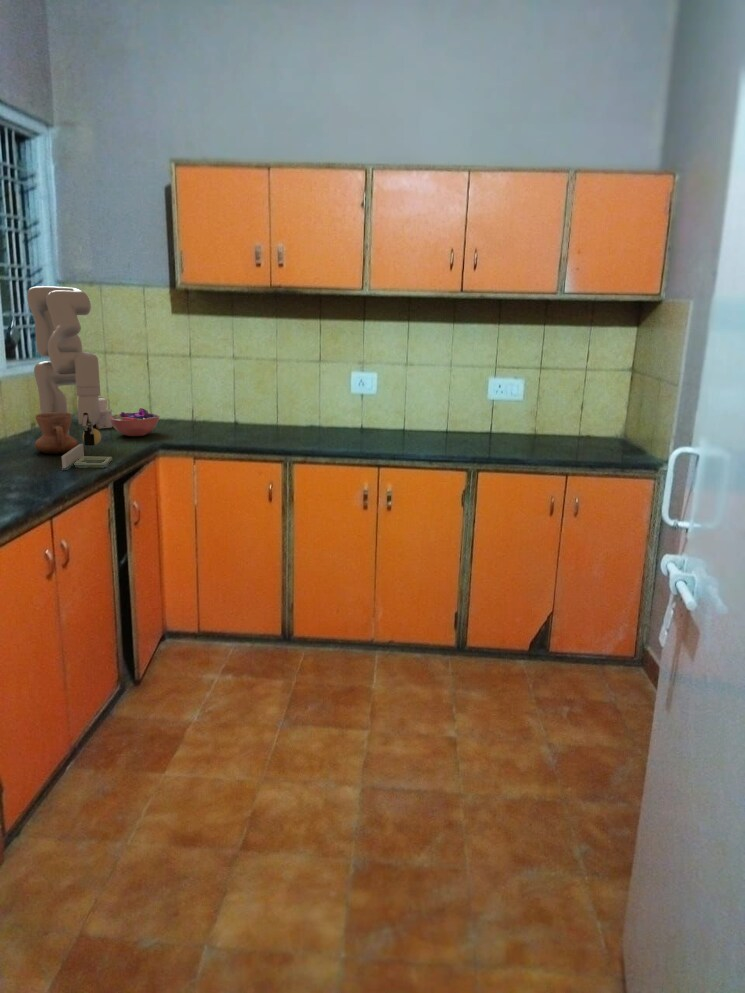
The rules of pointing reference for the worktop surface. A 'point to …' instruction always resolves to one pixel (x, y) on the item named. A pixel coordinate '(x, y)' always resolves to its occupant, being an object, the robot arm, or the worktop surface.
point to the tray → (79, 462)
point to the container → (104, 414)
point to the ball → (95, 436)
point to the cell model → (135, 423)
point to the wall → (72, 455)
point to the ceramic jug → (55, 433)
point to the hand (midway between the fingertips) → (92, 442)
